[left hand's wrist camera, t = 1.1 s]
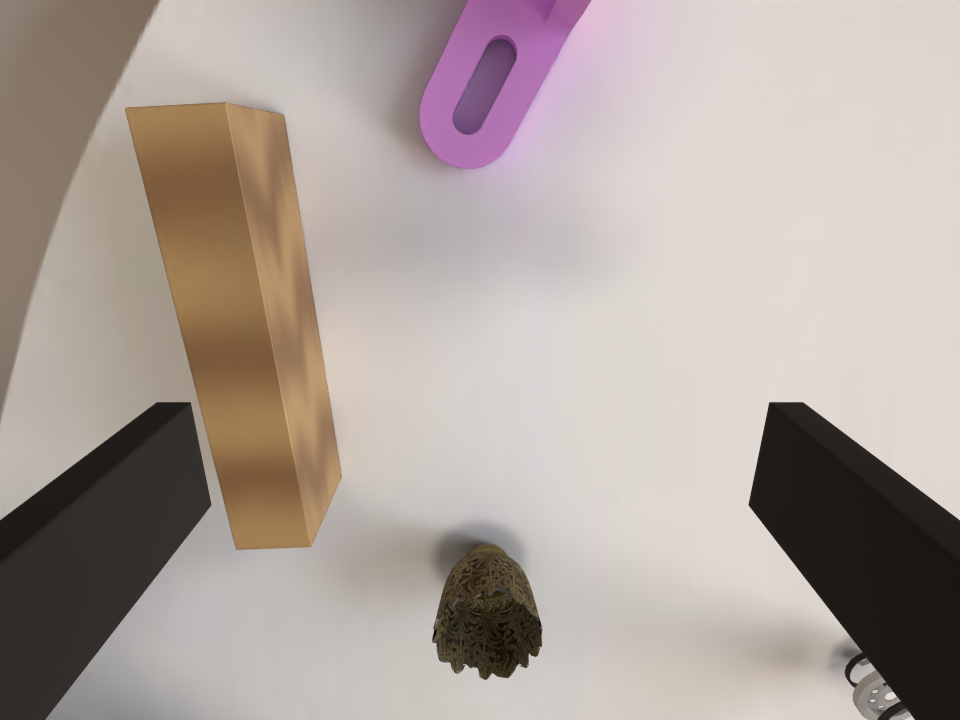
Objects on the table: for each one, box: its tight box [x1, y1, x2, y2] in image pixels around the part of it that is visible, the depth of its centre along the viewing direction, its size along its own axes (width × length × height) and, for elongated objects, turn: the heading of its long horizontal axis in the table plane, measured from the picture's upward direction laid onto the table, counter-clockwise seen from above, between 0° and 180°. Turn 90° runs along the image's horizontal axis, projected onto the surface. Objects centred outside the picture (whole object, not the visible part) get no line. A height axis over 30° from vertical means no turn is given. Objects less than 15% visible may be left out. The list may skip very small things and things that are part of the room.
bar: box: [125, 102, 342, 550], centre depth 33 cm, size 25×5×8 cm, turn 3°
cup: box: [432, 544, 542, 680], centre depth 40 cm, size 8×7×8 cm
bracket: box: [419, 0, 591, 169], centre depth 28 cm, size 13×6×7 cm, turn 151°
